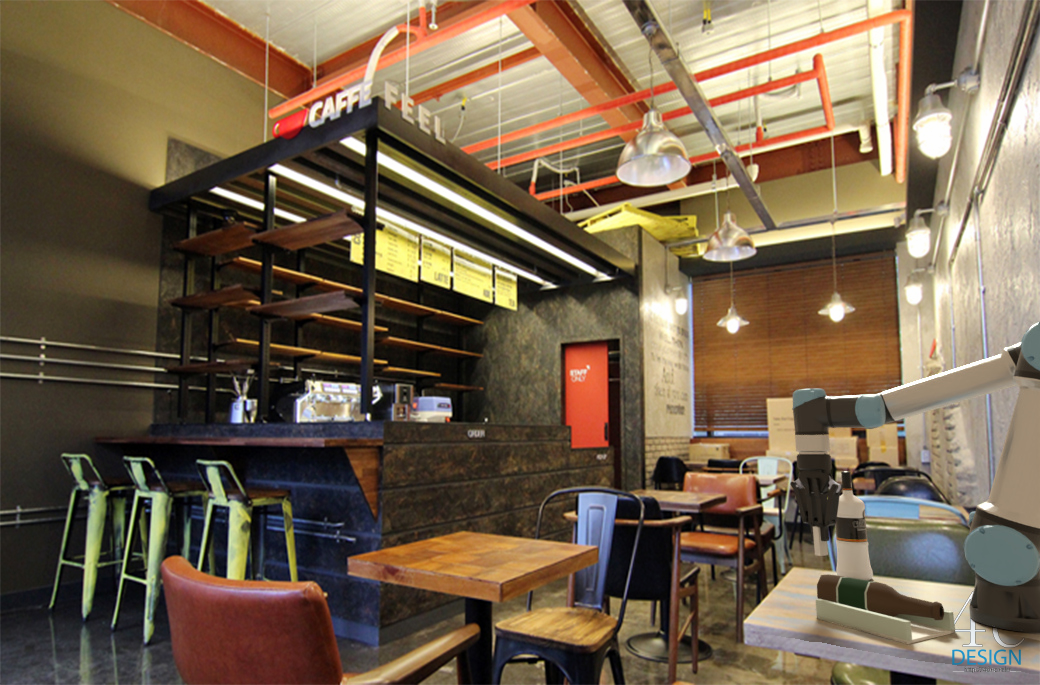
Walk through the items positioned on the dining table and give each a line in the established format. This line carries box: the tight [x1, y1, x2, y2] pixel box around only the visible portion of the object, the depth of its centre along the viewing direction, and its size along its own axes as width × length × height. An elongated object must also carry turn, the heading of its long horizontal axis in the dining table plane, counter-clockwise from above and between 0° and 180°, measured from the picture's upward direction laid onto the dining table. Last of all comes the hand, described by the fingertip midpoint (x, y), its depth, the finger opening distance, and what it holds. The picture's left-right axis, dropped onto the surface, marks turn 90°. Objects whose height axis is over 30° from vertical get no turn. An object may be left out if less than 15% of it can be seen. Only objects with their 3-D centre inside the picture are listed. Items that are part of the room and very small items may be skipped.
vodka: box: [834, 470, 874, 581], centre depth 181 cm, size 9×9×30 cm
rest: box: [815, 598, 956, 645], centre depth 133 cm, size 20×16×4 cm
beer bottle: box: [816, 573, 945, 620], centre depth 136 cm, size 8×8×24 cm
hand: (821, 554), depth 147 cm, fingers closed
